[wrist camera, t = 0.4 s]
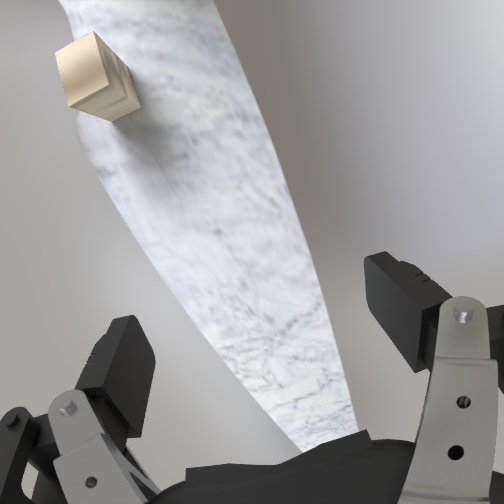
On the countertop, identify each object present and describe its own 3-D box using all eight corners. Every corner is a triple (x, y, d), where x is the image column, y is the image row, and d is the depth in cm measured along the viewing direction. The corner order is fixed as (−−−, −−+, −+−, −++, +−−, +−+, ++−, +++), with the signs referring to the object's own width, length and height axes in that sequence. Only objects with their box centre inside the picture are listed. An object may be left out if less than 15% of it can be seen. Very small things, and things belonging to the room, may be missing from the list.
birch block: (96, 81, 31) (53, 53, 19) (127, 66, 31) (93, 31, 19) (109, 122, 32) (66, 107, 21) (141, 107, 32) (108, 84, 21)
